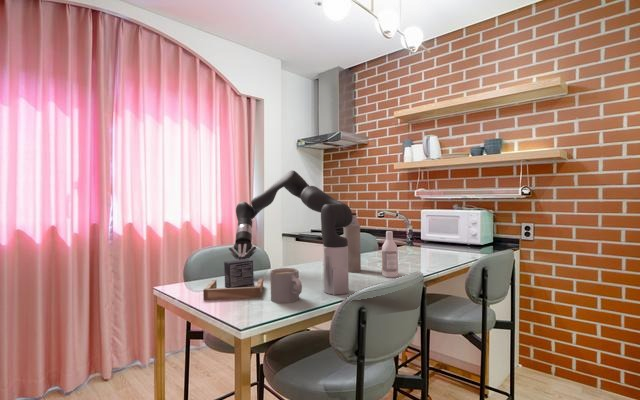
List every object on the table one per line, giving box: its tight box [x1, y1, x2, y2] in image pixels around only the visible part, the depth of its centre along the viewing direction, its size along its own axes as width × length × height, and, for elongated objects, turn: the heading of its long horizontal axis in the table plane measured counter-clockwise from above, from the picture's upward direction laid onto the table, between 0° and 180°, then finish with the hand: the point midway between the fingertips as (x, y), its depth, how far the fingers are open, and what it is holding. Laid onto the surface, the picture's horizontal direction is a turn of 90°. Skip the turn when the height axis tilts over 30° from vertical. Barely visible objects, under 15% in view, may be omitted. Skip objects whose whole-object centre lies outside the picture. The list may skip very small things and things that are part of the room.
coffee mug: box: [269, 267, 303, 304], centre depth 123 cm, size 13×10×10 cm
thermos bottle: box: [342, 212, 362, 273], centre depth 170 cm, size 8×8×28 cm
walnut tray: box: [202, 277, 264, 301], centre depth 134 cm, size 16×20×4 cm
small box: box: [223, 258, 255, 288], centre depth 145 cm, size 11×6×10 cm, turn 124°
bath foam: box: [381, 230, 399, 278], centre depth 157 cm, size 7×7×20 cm
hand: (241, 265), depth 156 cm, fingers closed
